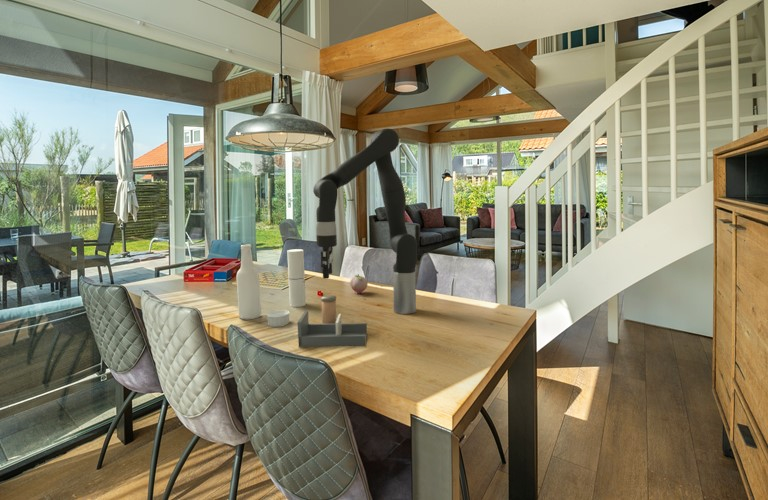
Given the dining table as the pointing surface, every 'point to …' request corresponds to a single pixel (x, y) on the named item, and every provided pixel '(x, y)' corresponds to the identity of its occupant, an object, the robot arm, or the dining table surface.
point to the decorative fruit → (358, 283)
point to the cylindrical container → (296, 277)
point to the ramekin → (278, 318)
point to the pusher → (338, 325)
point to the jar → (328, 309)
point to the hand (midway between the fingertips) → (327, 275)
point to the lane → (330, 334)
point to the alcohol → (248, 286)
